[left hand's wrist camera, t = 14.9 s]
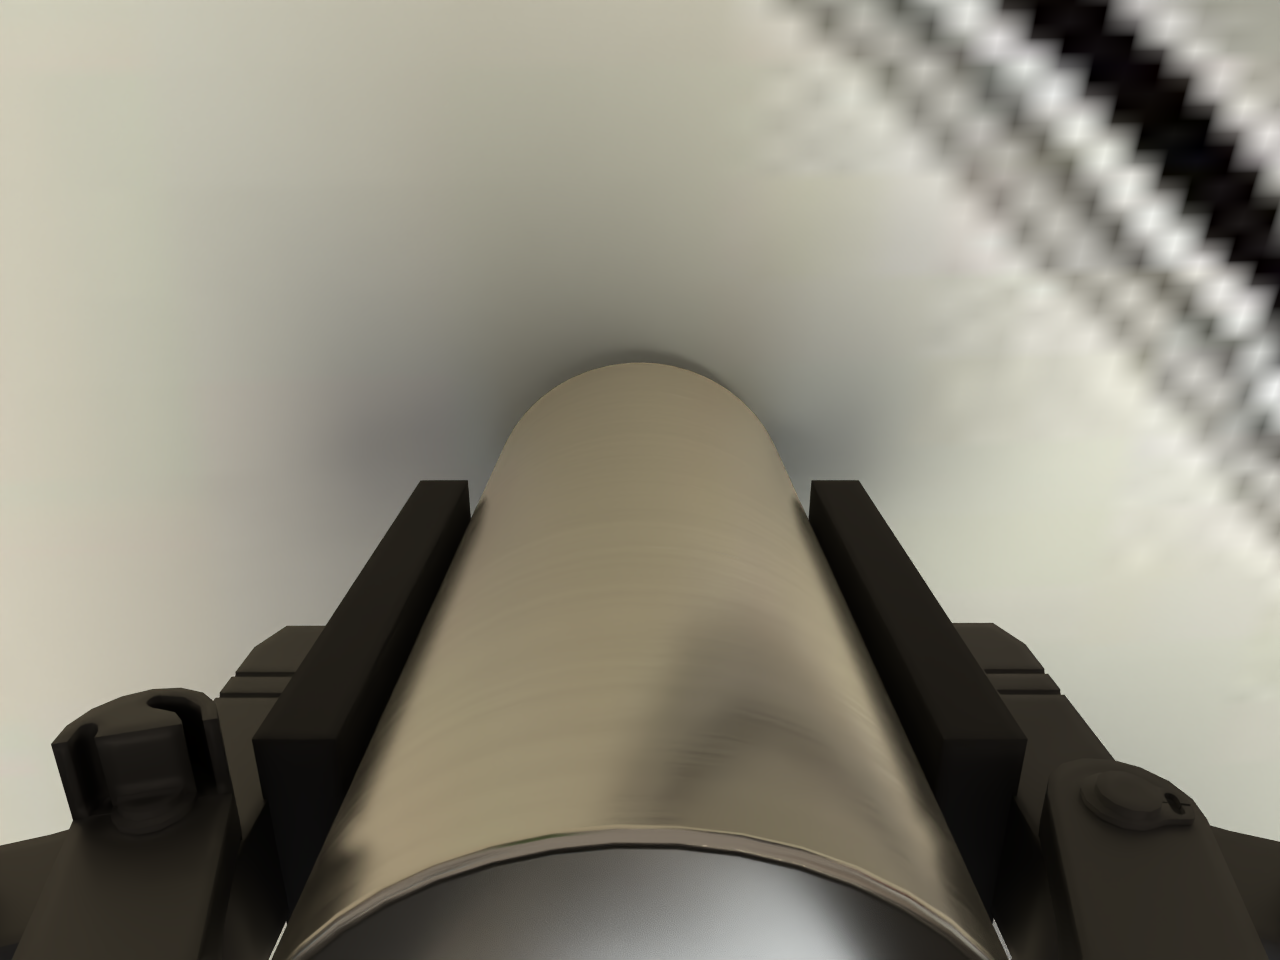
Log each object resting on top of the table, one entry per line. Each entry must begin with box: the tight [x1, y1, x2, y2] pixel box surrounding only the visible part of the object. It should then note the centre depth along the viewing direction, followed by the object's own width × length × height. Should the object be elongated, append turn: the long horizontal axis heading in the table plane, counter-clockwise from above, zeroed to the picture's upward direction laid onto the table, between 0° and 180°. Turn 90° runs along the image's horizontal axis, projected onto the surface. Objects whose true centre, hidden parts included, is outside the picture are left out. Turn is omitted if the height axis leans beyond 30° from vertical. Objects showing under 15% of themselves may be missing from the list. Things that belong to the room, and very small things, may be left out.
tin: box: [272, 363, 1008, 960], centre depth 11 cm, size 6×6×11 cm
